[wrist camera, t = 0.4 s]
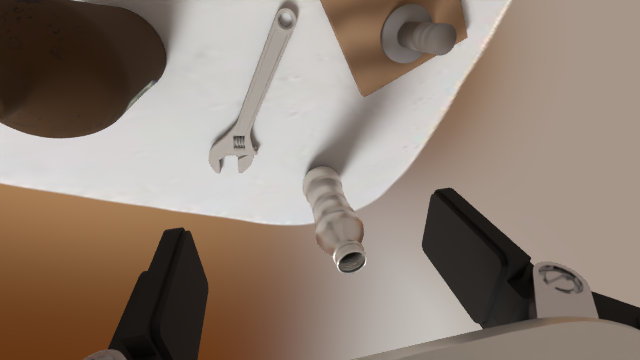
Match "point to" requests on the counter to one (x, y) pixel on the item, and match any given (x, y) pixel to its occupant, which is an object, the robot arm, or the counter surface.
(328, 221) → the plastic bottle
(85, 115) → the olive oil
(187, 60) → the counter surface
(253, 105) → the adjustable wrench
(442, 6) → the shaft board
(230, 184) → the counter surface
